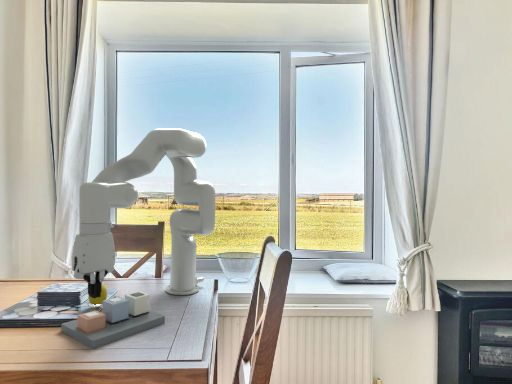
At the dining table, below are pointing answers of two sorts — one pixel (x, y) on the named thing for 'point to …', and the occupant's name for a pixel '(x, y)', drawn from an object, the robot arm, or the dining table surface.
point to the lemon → (99, 299)
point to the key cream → (138, 303)
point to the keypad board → (113, 329)
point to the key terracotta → (91, 321)
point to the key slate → (115, 309)
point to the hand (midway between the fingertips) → (94, 296)
